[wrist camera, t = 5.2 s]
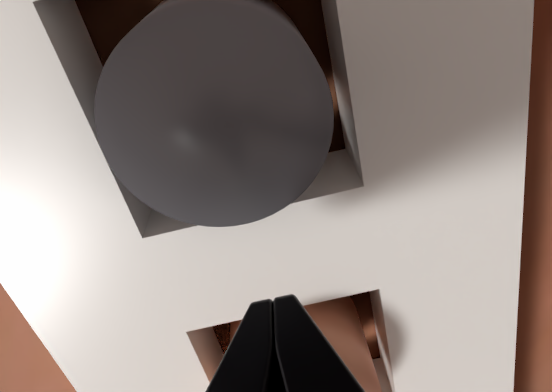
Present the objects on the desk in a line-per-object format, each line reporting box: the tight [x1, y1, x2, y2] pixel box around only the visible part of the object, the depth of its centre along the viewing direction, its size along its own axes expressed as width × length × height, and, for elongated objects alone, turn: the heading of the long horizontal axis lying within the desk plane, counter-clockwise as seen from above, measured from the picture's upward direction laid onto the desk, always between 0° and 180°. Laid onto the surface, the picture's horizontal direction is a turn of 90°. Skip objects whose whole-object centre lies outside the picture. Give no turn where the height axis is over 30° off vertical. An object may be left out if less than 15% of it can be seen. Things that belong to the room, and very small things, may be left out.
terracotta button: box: [230, 296, 382, 392], centre depth 13 cm, size 4×4×3 cm
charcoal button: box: [94, 0, 334, 227], centre depth 9 cm, size 4×4×3 cm
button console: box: [0, 0, 534, 392], centre depth 14 cm, size 12×24×2 cm, turn 13°
